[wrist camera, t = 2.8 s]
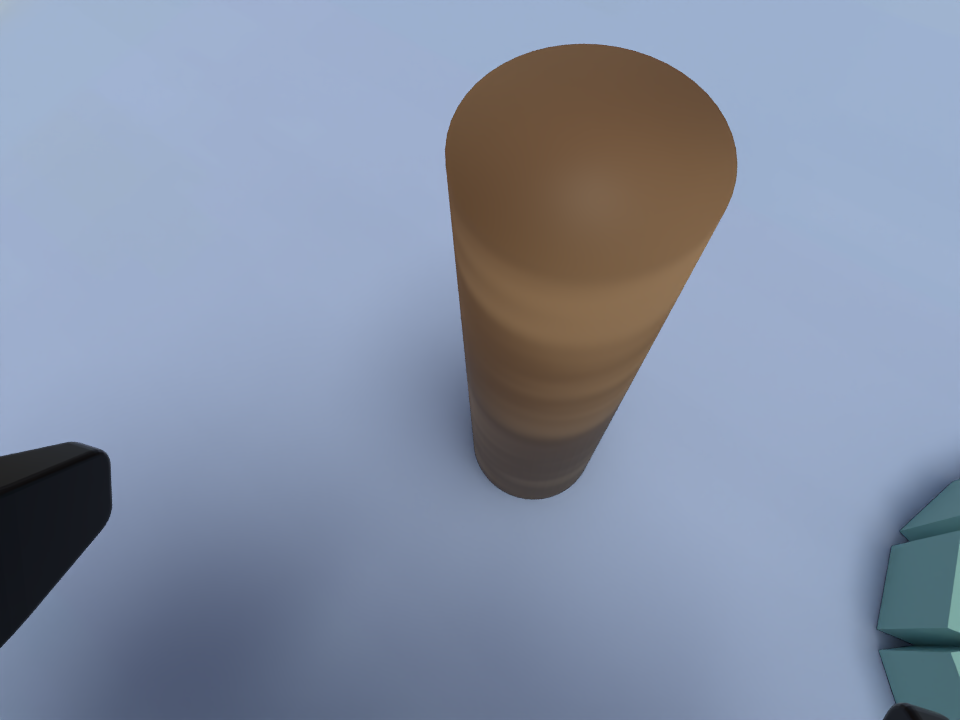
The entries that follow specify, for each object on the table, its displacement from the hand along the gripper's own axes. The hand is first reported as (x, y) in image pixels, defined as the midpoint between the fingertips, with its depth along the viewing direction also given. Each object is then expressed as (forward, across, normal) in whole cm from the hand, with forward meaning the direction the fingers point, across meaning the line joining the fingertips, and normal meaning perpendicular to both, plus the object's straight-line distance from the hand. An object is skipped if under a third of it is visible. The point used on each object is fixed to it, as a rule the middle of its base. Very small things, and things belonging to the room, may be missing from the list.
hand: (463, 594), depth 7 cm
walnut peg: (+12, 0, +5) cm, 13 cm away
